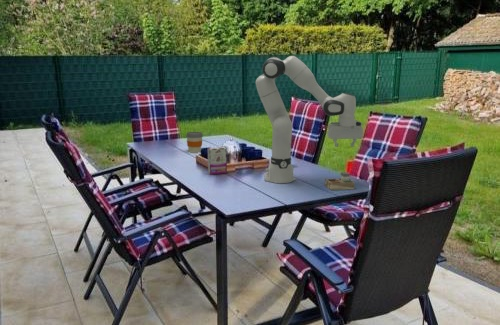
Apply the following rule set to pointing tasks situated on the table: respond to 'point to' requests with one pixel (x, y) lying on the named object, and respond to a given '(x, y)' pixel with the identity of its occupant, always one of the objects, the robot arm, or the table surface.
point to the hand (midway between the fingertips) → (344, 146)
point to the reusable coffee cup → (194, 141)
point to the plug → (345, 176)
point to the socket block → (339, 184)
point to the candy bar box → (217, 160)
